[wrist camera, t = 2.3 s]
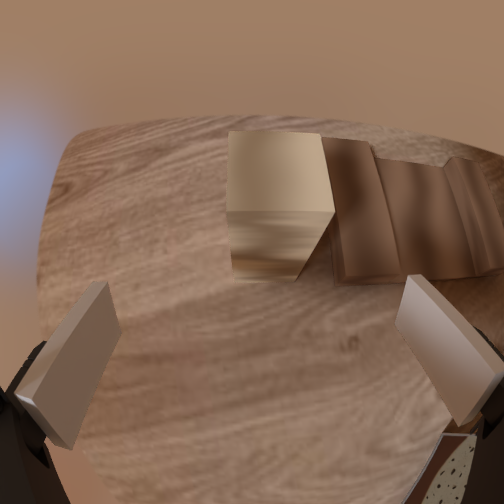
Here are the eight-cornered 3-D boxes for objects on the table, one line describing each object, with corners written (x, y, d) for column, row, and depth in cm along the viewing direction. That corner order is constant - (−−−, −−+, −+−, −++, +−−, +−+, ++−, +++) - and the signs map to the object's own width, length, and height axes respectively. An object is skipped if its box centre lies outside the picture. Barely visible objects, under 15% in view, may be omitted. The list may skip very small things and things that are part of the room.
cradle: (466, 174, 30) (478, 162, 27) (498, 274, 25) (514, 266, 22) (316, 156, 29) (322, 137, 26) (334, 286, 24) (346, 276, 21)
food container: (425, 527, 14) (476, 560, 5) (385, 524, 15) (436, 568, 6) (480, 430, 18) (547, 436, 9) (448, 418, 19) (521, 426, 10)
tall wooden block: (290, 227, 26) (319, 133, 15) (294, 281, 24) (335, 211, 13) (234, 228, 26) (228, 131, 15) (234, 282, 24) (226, 211, 13)
